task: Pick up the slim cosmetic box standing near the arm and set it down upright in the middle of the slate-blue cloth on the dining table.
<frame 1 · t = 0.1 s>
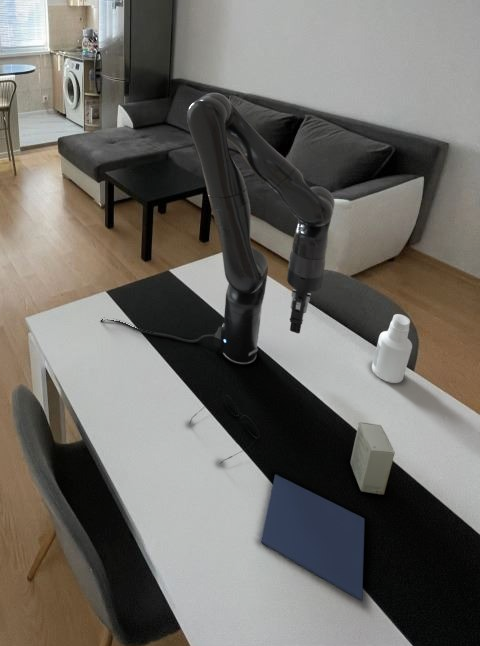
hand: (297, 320, 108), 17 cm above the table, tool pointing down, fingers open, 8 cm apart
cloth: (313, 530, 81), on the table
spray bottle: (386, 373, 112), on the table
cosmetic box: (365, 478, 89), on the table
eyeglasses: (223, 433, 100), on the table
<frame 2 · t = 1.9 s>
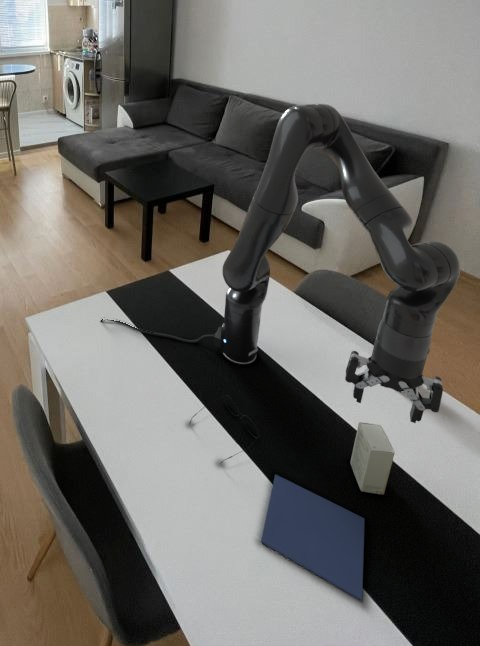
hand: (384, 408, 82), 20 cm above the table, tool pointing down, fingers open, 8 cm apart
nothing on the table moved.
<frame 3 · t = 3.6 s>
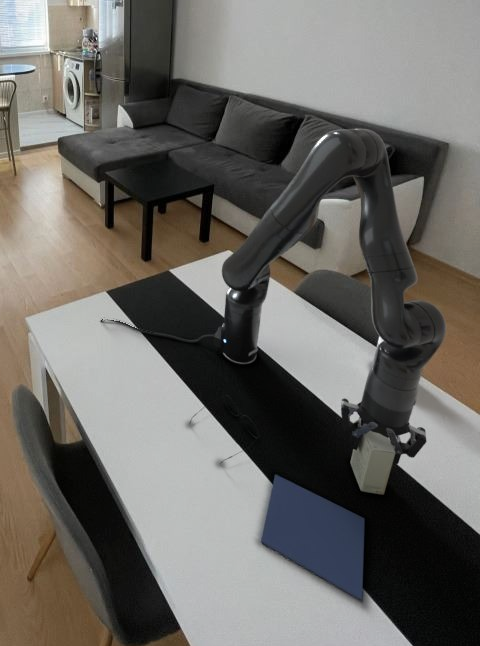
hand: (372, 453, 86), 7 cm above the table, tool pointing down, fingers closed on cosmetic box, 5 cm apart
cosmetic box: (365, 478, 89), on the table, touching gripper
everything else where it was.
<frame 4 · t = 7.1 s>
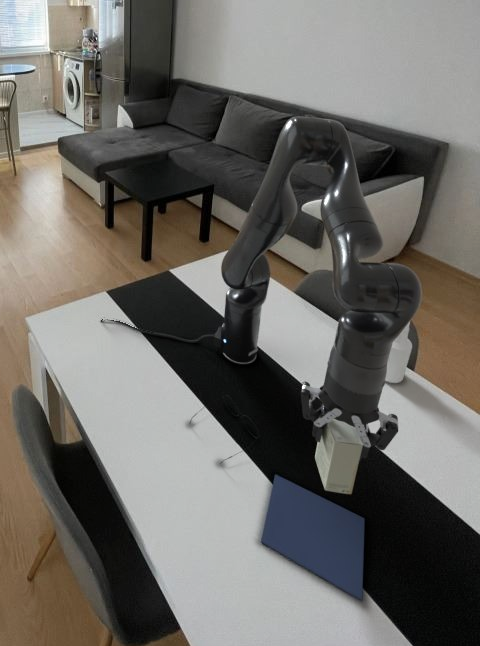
hand: (337, 445, 73), 22 cm above the table, tool pointing down, fingers closed on cosmetic box, 5 cm apart
cosmetic box: (331, 475, 76), point 15 cm above the table, touching gripper
everything else where it was.
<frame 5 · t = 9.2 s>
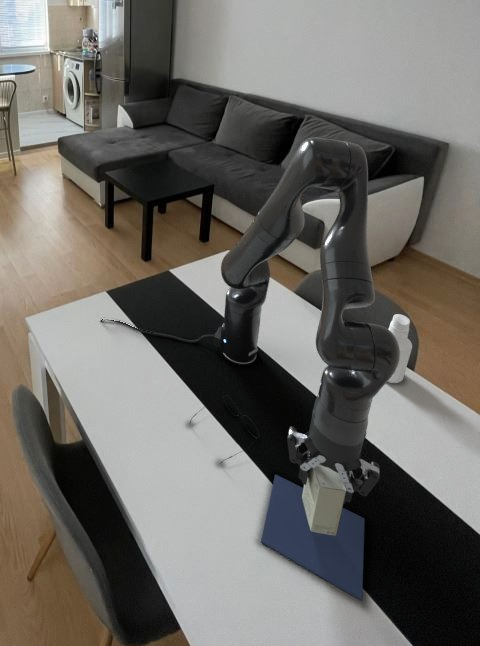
hand: (323, 488, 76), 12 cm above the table, tool pointing down, fingers closed on cosmetic box, 5 cm apart
cosmetic box: (317, 515, 79), point 5 cm above the table, touching gripper
everything else where it was.
when the fingers open (8 cm above the table, at t = 10.8 s): cosmetic box stays where it is, resting on cloth.
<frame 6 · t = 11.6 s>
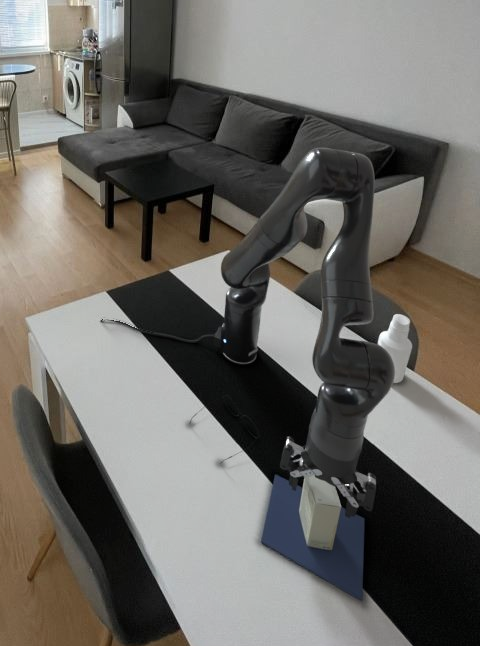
hand: (320, 498, 77), 10 cm above the table, tool pointing down, fingers open, 8 cm apart
cosmetic box: (313, 530, 81), resting on cloth
everything else where it was.
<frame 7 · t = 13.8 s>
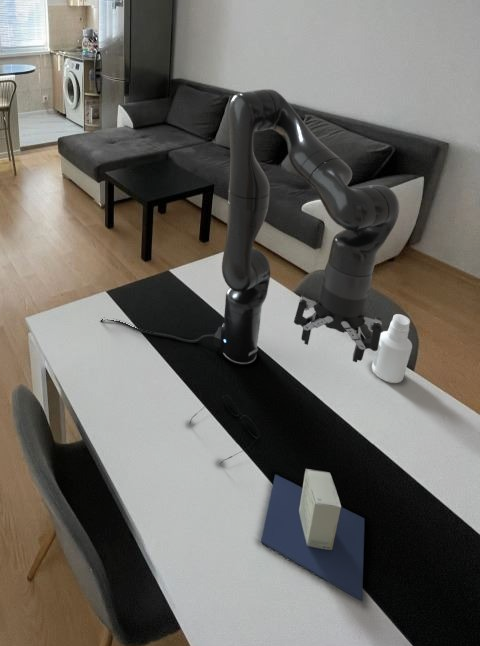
hand: (329, 350, 86), 28 cm above the table, tool pointing down, fingers open, 8 cm apart
nothing on the table moved.
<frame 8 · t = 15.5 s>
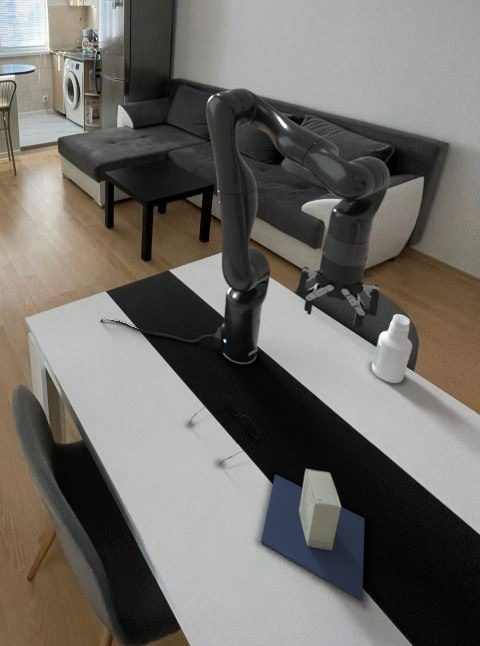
hand: (331, 318, 91), 30 cm above the table, tool pointing down, fingers open, 8 cm apart
nothing on the table moved.
at the end: cosmetic box inside the target area on the cloth (0.1 cm from its centre), point 0.2 cm above the cloth's base; cosmetic box tilted 0°; the gripper is holding nothing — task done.
